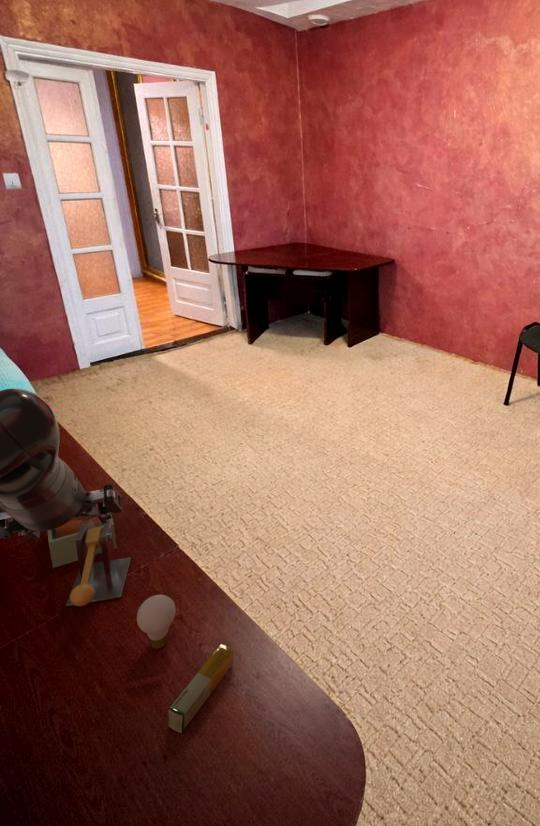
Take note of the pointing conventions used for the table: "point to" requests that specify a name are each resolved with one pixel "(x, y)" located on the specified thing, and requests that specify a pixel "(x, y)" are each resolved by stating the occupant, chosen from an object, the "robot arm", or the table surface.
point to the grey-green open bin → (69, 546)
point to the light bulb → (156, 619)
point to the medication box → (200, 688)
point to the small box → (78, 524)
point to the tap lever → (87, 570)
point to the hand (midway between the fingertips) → (72, 524)
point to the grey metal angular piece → (102, 567)
